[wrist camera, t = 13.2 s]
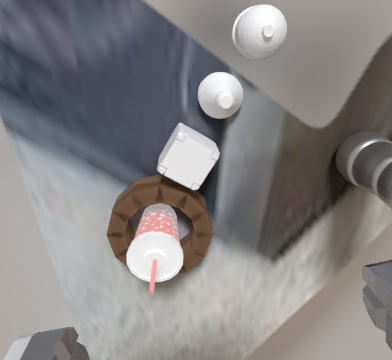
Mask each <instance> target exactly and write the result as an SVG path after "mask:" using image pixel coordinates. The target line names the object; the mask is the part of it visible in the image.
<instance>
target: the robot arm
mask: <svg viewBox="0 0 392 360" xmlns="http://www.w3.org/2000/svg"><path fill="white" fill-rule="evenodd" d="M362 278H363V279H364V281H365V282H366V283H367V285H366V286H365V287H364V289H363V301H364V304H365V307H366V310H367V312H368V314H369V316H370V318H371V320H372V321H373V323H374V325H375V326H376V327H378V328H379V329H381V330H383V331H385V332H386V342H387V344H388V346H389V347H390V349H391V350H392V260H388V261H384V262H379V263H375V264H370V265H365V266H364V267H363V269H362ZM77 338H78V334H77V332H76V331H75V329H74V328H73V327H72V328H71V327H67V328H61V329H56V330H50V331H45V332H39V333H36V334H30V335H24V336H20V337H19V338H17V339H16V340H15V341H14V343H13V344H12V346H11V348H10V349H9V351H8V353H7V355H6V356H5V358H4V360H90V359H89V355H88V352H87V350H86V348H85V346H83V345H82V344H80V343H78V342H76V341H77Z"/></svg>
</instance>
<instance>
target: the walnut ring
mask: <svg viewBox="0 0 392 360" xmlns="http://www.w3.org/2000/svg"><path fill="white" fill-rule="evenodd" d="M159 203H161V204H166V205H170V206H174V207H178V208H180V209H181V210H182V211H183V212H184V213H185V214H186V215H187V216H188V217H189V218H191V219H192V222H193V224H192V227H191V230H190V233H188V234H187V235H186V236H185V237H184V238H182V239H181V240H180V245H181V248H182V250H183V265H182V267H181V269H180V271H179V272H178V273H183V272H186V271H187V270H189V269H190V268H191V267H192V266H194V265H195V264H196V263H197V262H199V261H200V260H201V259H202V258H204V257H205V254H206V252H207V249H208V246H209V244H210V241H211V238H212V236H213V233H212V228H211V222H210V218H209V214H208V210H207V206H206V202H205V197H204V196H203V195H202V194H200V193H199V192H198V191H197V190H192V189H191V187H190V188H188V187H186V186H184V185H182V184H180V183H178V182H176V181H174V180H173V179H171V178H169V177H167V176H165V175H164V174H159V175H154V176H150V177H146V178H142V179H137V180H135V181H134V182H133V183H132V184H131V185H130V186H129V187H128V188H127V189H126V190H125V191H123V192H122V193H121V194H120V195H119V196H118V198H117V200H116V203H115V205H114V208H113V210H112V214H111V219H110V223H109V227H108V231H107V237H108V240H109V242H110V245H111V247H112V249H113V252H114V254H115V257H116V258H117V259H119V260H120V261H121V262H123V263H124V264H125V265H127V256H126V254H127V251H128V249H129V246H130V244H131V242H132V241H133V240H134V238H135V235H136V234H135V233H134V232H133V229H132V226H131V223H130V221H129V218H130V217H131V216H132V215H134V214H135V213H136V212H137V211H138V210H139V209H140V208H141V207H146V206H150V205H154V204H159ZM127 266H128V265H127ZM178 273H177V274H178Z"/></svg>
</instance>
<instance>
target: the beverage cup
mask: <svg viewBox="0 0 392 360" xmlns="http://www.w3.org/2000/svg"><path fill="white" fill-rule="evenodd" d="M126 256H127V265H128V267H129V269H130V271H131V272H132V273H133V274H134V275H135V276H137V277H138V278H139V279H142V280H145V281H148V282H150V287H149V294H150V295H153V294H154V287H155V282H162V281H165V280H168V279H171V278H172V277H173V276H175V275H176V274H177V273H178V272H179V271H180V269H181V267H182V265H183V250H182V248H181V245H180V240H179V232H178V223H177V215H176V213H175V211H174V209H173V208H172V207H170V206H169V205H166V204H161V203H159V204H154V205H150V206H148V207H147V208H146V209H145V210H144V213H143V215H142V217H141V220H140V223H139V226H138V229H137V232H136V235H135V238H134V240H133V241H132V242H131V244H130V246H129V249H128V251H127V254H126Z"/></svg>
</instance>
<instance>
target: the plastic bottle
mask: <svg viewBox="0 0 392 360" xmlns="http://www.w3.org/2000/svg"><path fill="white" fill-rule="evenodd" d="M336 166H337V169H338V170H339V172H340V173H341V175H342V176H343V177H344V178H345V179H346V180H347V181H348V182H350V183H352V184H354V185H356V186H358V187H361V188H364V189H366V190H367V191H369V192H371V193H373V194H374V195H376V196H377V197H379V198H380V199H381V200H382V201H384V203H386V204H387V205H388V206H389V207H390V208H392V141H390V140H389V139H387V138H386V137H384V136H383V135H381V134H378V133H372V132H359V133H355V134H353V135H351V136H349V137H348V138H346V139H345V140H344V141H343V142H342V144H341V145H340V146H339V148H338V150H337V153H336Z"/></svg>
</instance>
